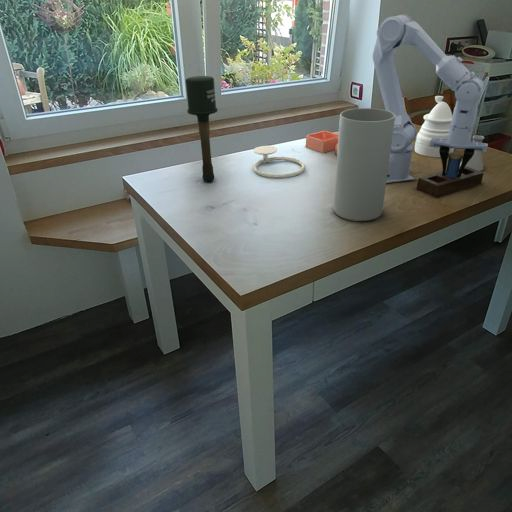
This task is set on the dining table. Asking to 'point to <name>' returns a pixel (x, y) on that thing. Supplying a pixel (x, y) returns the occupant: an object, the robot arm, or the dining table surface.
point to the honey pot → (434, 129)
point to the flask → (476, 156)
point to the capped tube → (453, 164)
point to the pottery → (322, 141)
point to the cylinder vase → (362, 162)
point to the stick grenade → (202, 115)
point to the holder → (449, 182)
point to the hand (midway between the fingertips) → (451, 173)
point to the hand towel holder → (270, 150)
